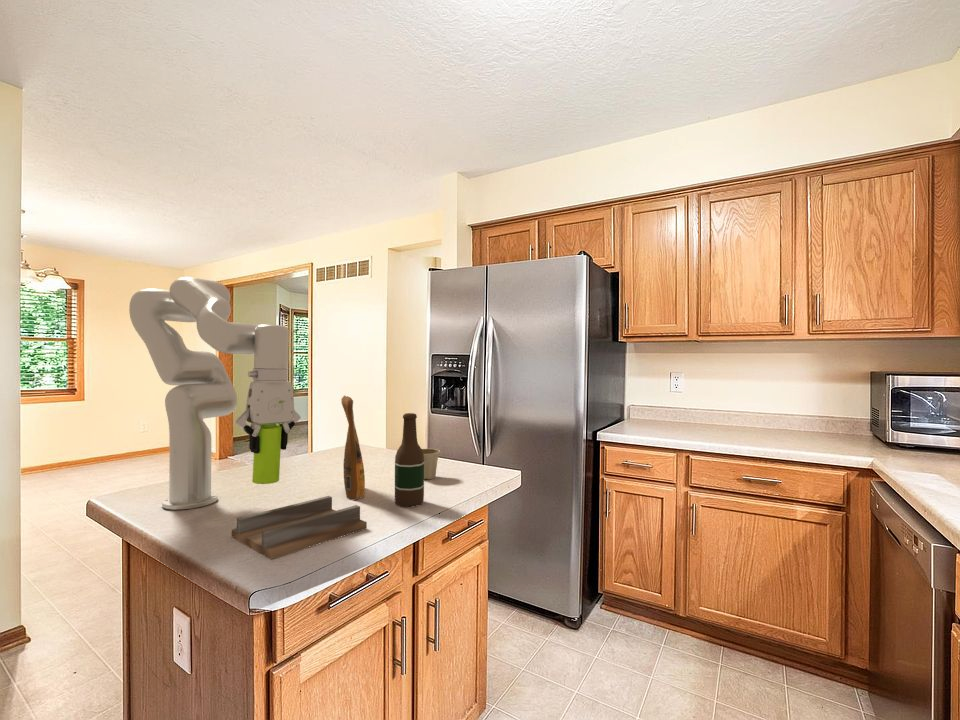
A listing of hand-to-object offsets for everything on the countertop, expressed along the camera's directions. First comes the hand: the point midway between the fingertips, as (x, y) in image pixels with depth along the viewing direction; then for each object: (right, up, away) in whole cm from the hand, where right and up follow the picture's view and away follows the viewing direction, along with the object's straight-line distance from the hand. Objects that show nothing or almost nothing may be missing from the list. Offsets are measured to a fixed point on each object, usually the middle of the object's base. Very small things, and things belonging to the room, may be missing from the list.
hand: (268, 449), depth 114 cm
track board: (+11, -17, -9) cm, 22 cm away
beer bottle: (+32, -17, +12) cm, 38 cm away
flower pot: (+33, -17, +40) cm, 55 cm away
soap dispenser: (0, -8, 0) cm, 8 cm away
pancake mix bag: (+14, -17, +22) cm, 31 cm away
